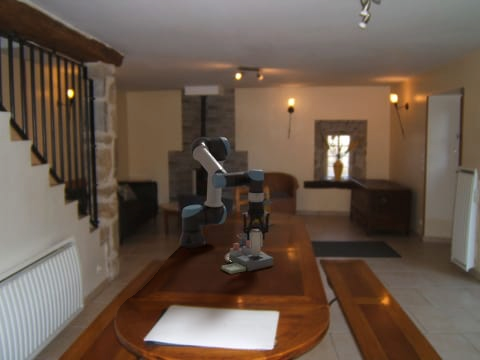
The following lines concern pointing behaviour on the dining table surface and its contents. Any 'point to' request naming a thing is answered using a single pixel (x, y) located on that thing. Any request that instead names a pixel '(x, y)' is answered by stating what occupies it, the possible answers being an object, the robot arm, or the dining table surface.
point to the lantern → (266, 209)
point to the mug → (242, 240)
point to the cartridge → (255, 242)
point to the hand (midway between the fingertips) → (255, 246)
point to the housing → (250, 259)
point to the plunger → (235, 246)
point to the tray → (233, 268)
